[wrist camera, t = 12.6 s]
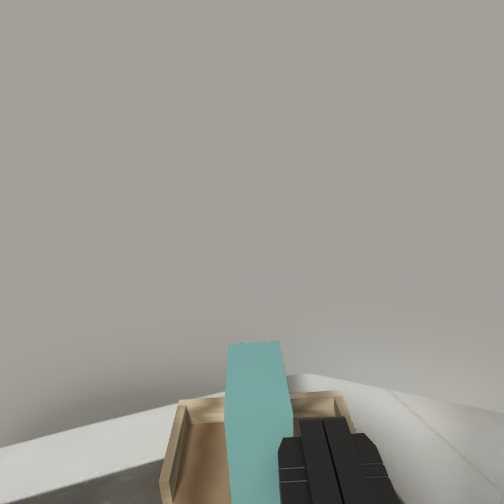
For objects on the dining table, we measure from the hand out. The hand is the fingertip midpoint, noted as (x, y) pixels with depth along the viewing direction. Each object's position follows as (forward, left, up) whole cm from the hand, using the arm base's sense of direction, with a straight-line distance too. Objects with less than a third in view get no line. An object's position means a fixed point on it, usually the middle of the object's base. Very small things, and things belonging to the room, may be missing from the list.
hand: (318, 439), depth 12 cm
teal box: (+2, -23, -26) cm, 34 cm away
